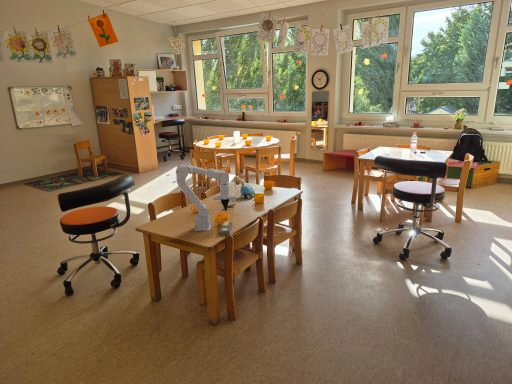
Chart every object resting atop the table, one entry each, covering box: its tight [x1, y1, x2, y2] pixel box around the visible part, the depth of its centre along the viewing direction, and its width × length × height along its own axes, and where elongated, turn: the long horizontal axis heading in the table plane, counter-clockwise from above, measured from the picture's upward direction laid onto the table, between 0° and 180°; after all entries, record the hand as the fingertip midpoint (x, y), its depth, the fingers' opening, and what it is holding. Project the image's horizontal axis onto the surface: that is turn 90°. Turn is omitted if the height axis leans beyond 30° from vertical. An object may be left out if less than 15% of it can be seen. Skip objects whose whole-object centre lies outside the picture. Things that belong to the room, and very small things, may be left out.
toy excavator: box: [233, 175, 256, 200], centre depth 278 cm, size 9×17×17 cm, turn 64°
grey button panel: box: [219, 221, 233, 236], centre depth 217 cm, size 6×15×2 cm, turn 178°
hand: (226, 210), depth 223 cm, fingers closed
